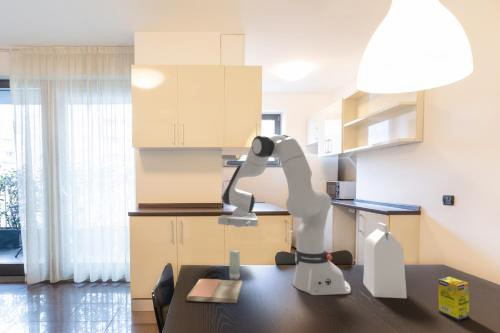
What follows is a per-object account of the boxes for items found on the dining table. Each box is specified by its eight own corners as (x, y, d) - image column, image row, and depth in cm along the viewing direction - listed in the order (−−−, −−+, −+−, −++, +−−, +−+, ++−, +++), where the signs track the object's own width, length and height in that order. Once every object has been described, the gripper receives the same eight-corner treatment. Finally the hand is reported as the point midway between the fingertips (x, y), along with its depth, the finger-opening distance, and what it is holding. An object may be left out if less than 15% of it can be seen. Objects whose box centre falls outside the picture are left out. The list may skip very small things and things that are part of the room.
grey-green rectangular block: (240, 277, 115) (240, 250, 116) (238, 281, 111) (239, 253, 111) (230, 277, 115) (230, 249, 116) (228, 281, 111) (228, 252, 112)
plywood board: (242, 284, 108) (242, 280, 108) (236, 303, 92) (236, 298, 92) (199, 282, 109) (199, 278, 109) (186, 300, 93) (187, 295, 94)
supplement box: (459, 321, 80) (457, 285, 81) (438, 312, 86) (437, 278, 86) (470, 317, 83) (469, 282, 83) (449, 309, 88) (448, 276, 89)
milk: (363, 283, 109) (362, 221, 110) (392, 284, 108) (390, 221, 109) (374, 296, 97) (372, 226, 98) (406, 298, 96) (405, 226, 97)
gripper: (220, 211, 139) (215, 216, 126) (258, 213, 139) (258, 218, 125) (219, 223, 139) (215, 229, 126) (257, 225, 139) (257, 232, 125)
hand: (236, 224), depth 125 cm, fingers open, 8 cm apart
